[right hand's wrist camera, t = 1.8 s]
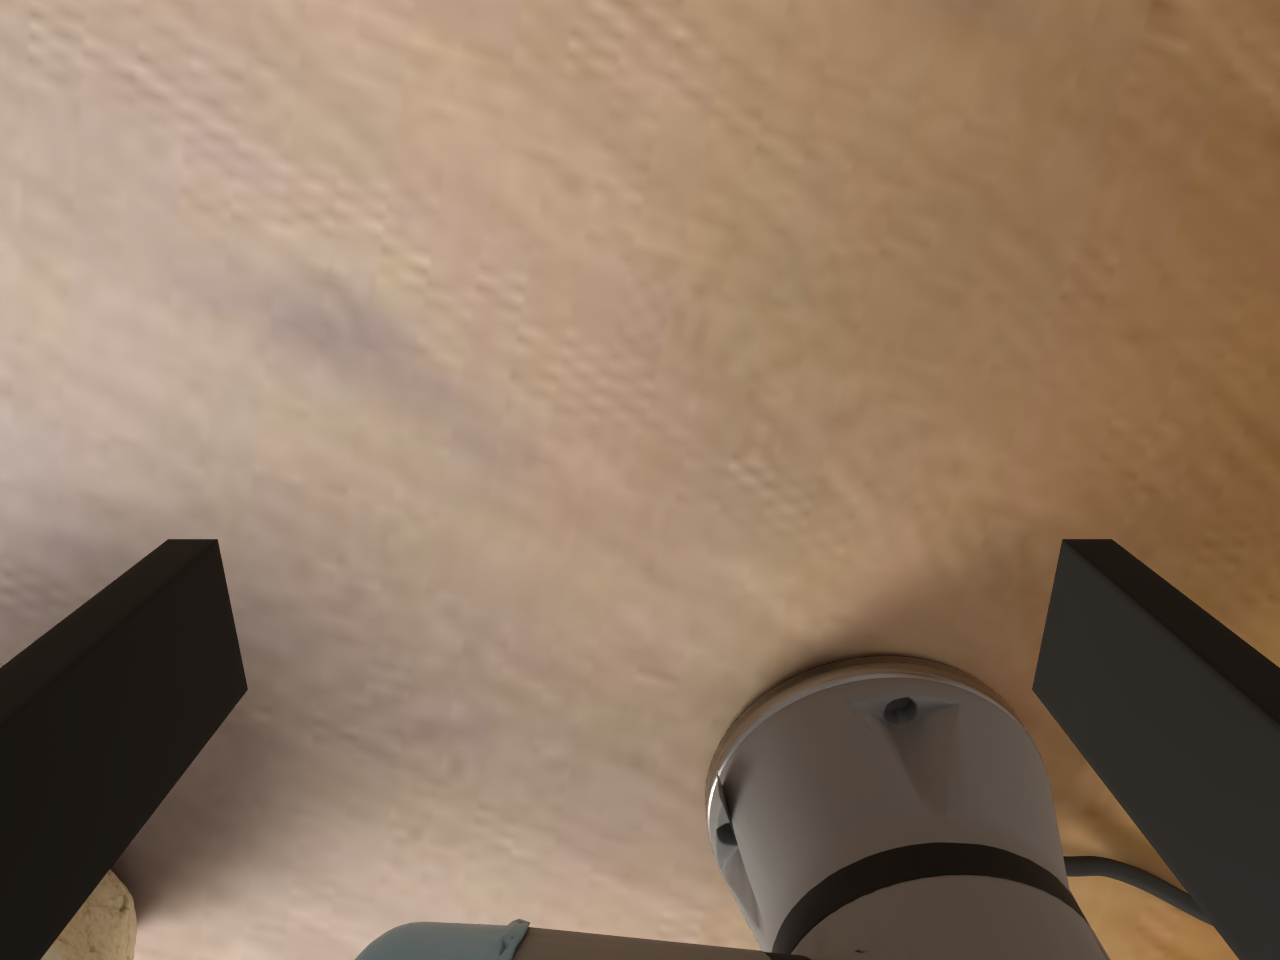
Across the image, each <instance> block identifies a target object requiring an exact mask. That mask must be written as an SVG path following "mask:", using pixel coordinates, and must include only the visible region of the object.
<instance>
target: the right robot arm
mask: <svg viewBox="0 0 1280 960" xmlns="http://www.w3.org/2000/svg"><path fill="white" fill-rule="evenodd" d="M247 690H248V688H247V683H246V678H245V673H244V668H243V663H242V658H241V653H240V648H239V643H238V638H237V633H236V629H235V624H234V619H233V614H232V609H231V604H230V599H229V594H228V589H227V584H226V579H225V574H224V569H223V564H222V559H221V554H220V549H219V544H218V539H168V540H167V541H165V542H164V543H163V544H162V545H160V546H159V547H158V548H156V549H155V550H154V551H152V552H151V553H150V554H148V555H147V556H146V557H145V558H143V559H142V560H141V561H139V562H138V563H137V564H135V565H134V566H133V567H132V568H130V569H129V570H128V571H126V572H125V573H124V574H122V575H121V576H120V577H118V578H117V579H116V580H115V581H113V582H112V583H111V584H109V585H108V586H107V587H105V588H104V589H103V590H101V591H100V592H99V593H98V594H96V595H95V596H94V597H92V598H91V599H90V600H88V601H87V602H86V603H85V604H83V605H82V606H81V607H79V608H78V609H77V610H75V611H74V612H73V613H71V614H70V615H69V616H68V617H66V618H65V619H64V620H62V621H61V622H60V623H58V624H57V625H56V626H54V627H53V628H52V629H51V630H49V631H48V632H47V633H45V634H44V635H43V636H41V637H40V638H39V639H38V640H36V641H35V642H34V643H32V644H31V645H30V646H28V647H27V648H26V649H24V650H23V651H22V652H21V653H19V654H18V655H17V656H15V657H14V658H13V659H11V660H10V661H9V662H8V663H6V664H5V665H4V666H2V667H1V668H0V960H41V958H42V957H43V956H44V955H45V953H46V952H47V951H48V949H49V948H50V947H51V945H52V944H53V943H54V941H55V940H56V939H57V938H58V936H59V935H60V934H61V932H62V931H63V930H64V928H65V927H66V926H67V925H68V923H69V922H70V921H71V919H72V918H73V917H74V915H75V914H76V913H77V911H78V910H79V909H80V908H81V906H82V905H83V904H84V902H85V901H86V900H87V898H88V897H89V896H90V895H91V893H92V892H93V891H94V889H95V888H96V887H97V885H98V884H99V883H100V881H101V880H102V879H103V878H104V876H105V875H106V874H107V872H108V871H109V870H110V868H111V867H112V866H113V865H114V863H115V862H116V861H117V859H118V858H119V857H120V855H121V854H122V853H123V852H124V850H125V849H126V848H127V846H128V845H129V844H130V842H131V841H132V840H133V838H134V837H135V836H136V835H137V833H138V832H139V831H140V829H141V828H142V827H143V825H144V824H145V823H146V822H147V820H148V819H149V818H150V816H151V815H152V814H153V812H154V811H155V810H156V808H157V807H158V806H159V805H160V803H161V802H162V801H163V799H164V798H165V797H166V795H167V794H168V793H169V792H170V790H171V789H172V788H173V786H174V785H175V784H176V782H177V781H178V780H179V778H180V777H181V776H182V775H183V773H184V772H185V771H186V769H187V768H188V767H189V765H190V764H191V763H192V762H193V760H194V759H195V758H196V756H197V755H198V754H199V752H200V751H201V750H202V748H203V747H204V746H205V745H206V743H207V742H208V741H209V739H210V738H211V737H212V735H213V734H214V733H215V732H216V730H217V729H218V728H219V726H220V725H221V724H222V722H223V721H224V720H225V718H226V717H227V716H228V715H229V713H230V712H231V711H232V709H233V708H234V707H235V705H236V704H237V703H238V702H239V700H240V699H241V698H242V696H243V695H244V694H245V692H246V691H247ZM1032 690H1033V691H1034V692H1035V694H1036V695H1037V696H1038V698H1039V699H1040V700H1041V702H1042V703H1043V704H1044V705H1045V707H1046V708H1047V709H1048V711H1049V712H1050V713H1051V715H1052V716H1053V717H1054V718H1055V720H1056V721H1057V722H1058V724H1059V725H1060V726H1061V728H1062V729H1063V730H1064V732H1065V733H1066V734H1067V735H1068V737H1069V738H1070V739H1071V741H1072V742H1073V743H1074V745H1075V746H1076V747H1077V748H1078V750H1079V751H1080V752H1081V754H1082V755H1083V756H1084V758H1085V759H1086V760H1087V762H1088V763H1089V764H1090V765H1091V767H1092V768H1093V769H1094V771H1095V772H1096V773H1097V775H1098V776H1099V777H1100V778H1101V780H1102V781H1103V782H1104V784H1105V785H1106V786H1107V788H1108V789H1109V790H1110V792H1111V793H1112V794H1113V795H1114V797H1115V798H1116V799H1117V801H1118V802H1119V803H1120V805H1121V806H1122V807H1123V808H1124V810H1125V811H1126V812H1127V814H1128V815H1129V816H1130V818H1131V819H1132V820H1133V822H1134V823H1135V824H1136V825H1137V827H1138V828H1139V829H1140V831H1141V832H1142V833H1143V835H1144V836H1145V837H1146V838H1147V840H1148V841H1149V842H1150V844H1151V845H1152V846H1153V848H1154V849H1155V850H1156V852H1157V853H1158V854H1159V855H1160V857H1161V858H1162V859H1163V861H1164V862H1165V863H1166V865H1167V866H1168V867H1169V868H1170V870H1171V871H1172V872H1173V874H1174V875H1175V876H1176V878H1177V879H1178V880H1179V881H1180V883H1181V884H1182V885H1183V887H1184V888H1185V889H1186V891H1187V892H1188V893H1189V894H1188V893H1186V892H1184V891H1182V890H1180V889H1178V888H1177V887H1175V886H1173V885H1171V884H1169V883H1167V882H1166V881H1164V880H1162V879H1160V878H1158V877H1156V876H1154V875H1152V874H1150V873H1148V872H1145V871H1143V870H1141V869H1138V868H1136V867H1134V866H1131V865H1128V864H1125V863H1122V862H1119V861H1116V860H1112V859H1108V858H1102V857H1096V856H1074V857H1067V856H1063V853H1062V847H1061V842H1060V836H1059V831H1058V825H1057V820H1056V814H1055V809H1054V803H1053V798H1052V792H1051V787H1050V782H1049V778H1048V775H1047V773H1046V770H1045V767H1044V764H1043V761H1042V758H1041V755H1040V753H1039V751H1038V749H1037V747H1036V745H1035V743H1034V741H1033V740H1032V738H1031V737H1030V735H1029V734H1028V732H1027V731H1026V729H1025V728H1024V726H1023V725H1022V723H1021V722H1020V720H1019V719H1018V717H1017V716H1016V714H1015V713H1014V711H1013V710H1012V709H1011V707H1010V706H1009V705H1008V704H1007V703H1006V702H1005V701H1004V700H1003V699H1002V698H1001V697H1000V696H999V695H998V694H997V693H996V692H995V691H993V690H992V689H991V688H990V687H988V686H987V685H985V684H984V683H982V682H981V681H980V680H978V679H976V678H974V677H972V676H970V675H969V674H967V673H965V672H962V671H960V670H958V669H955V668H953V667H950V666H947V665H944V664H941V663H938V662H933V661H929V660H924V659H919V658H912V657H904V656H869V657H860V658H852V659H847V660H842V661H837V662H833V663H830V664H826V665H823V666H819V667H816V668H814V669H811V670H808V671H806V672H803V673H801V674H799V675H797V676H795V677H792V678H790V679H788V680H786V681H785V682H783V683H781V684H779V685H778V686H776V687H774V688H773V689H771V690H770V691H768V692H767V693H766V694H764V695H763V696H761V697H760V698H759V699H757V700H756V701H755V702H754V703H753V704H752V705H750V706H749V707H748V708H747V709H746V710H745V711H744V712H743V713H742V714H741V715H740V716H739V717H738V718H737V719H736V721H735V722H734V723H733V724H732V726H731V727H730V728H729V730H728V731H727V732H726V734H725V736H724V737H723V739H722V740H721V742H720V744H719V746H718V748H717V750H716V752H715V754H714V756H713V759H712V762H711V765H710V767H709V772H708V776H707V781H706V791H705V797H706V813H707V824H708V832H709V839H710V843H711V847H712V850H713V853H714V856H715V859H716V862H717V864H718V867H719V870H720V872H721V874H722V876H723V878H724V880H725V882H726V884H727V886H728V888H729V889H730V891H731V893H732V895H733V897H734V899H735V901H736V903H737V905H738V907H739V909H740V911H741V912H742V914H743V916H744V918H745V920H746V922H747V924H748V926H749V928H750V930H751V932H752V933H753V935H754V937H755V939H756V941H757V943H758V945H759V947H760V949H761V951H757V950H747V949H737V948H727V947H718V946H708V945H698V944H688V943H679V942H669V941H659V940H649V939H640V938H630V937H620V936H610V935H601V934H591V933H581V932H571V931H561V930H552V929H542V928H532V927H528V926H529V924H530V922H527V921H524V920H521V919H518V920H515V921H512V922H511V923H510V924H509V925H507V926H505V925H483V924H461V923H439V922H416V923H409V924H405V925H401V926H398V927H395V928H393V929H391V930H389V931H388V932H386V933H384V934H383V935H381V936H380V937H378V938H377V939H376V940H374V941H373V942H372V943H370V944H369V945H368V946H367V947H366V948H365V949H364V950H363V951H362V952H361V953H360V954H359V955H358V956H357V957H356V959H355V960H1110V958H1109V956H1108V955H1107V953H1106V951H1105V950H1104V948H1103V946H1102V945H1101V943H1100V941H1099V940H1098V938H1097V936H1096V935H1095V933H1094V931H1093V930H1092V929H1091V927H1090V925H1089V923H1088V922H1087V920H1086V918H1085V916H1084V915H1083V913H1082V911H1081V909H1080V908H1079V906H1078V904H1077V902H1076V900H1075V899H1074V897H1073V895H1072V893H1071V891H1070V890H1069V886H1068V880H1067V876H1106V877H1109V878H1113V879H1116V880H1119V881H1122V882H1125V883H1128V884H1130V885H1133V886H1135V887H1138V888H1140V889H1142V890H1144V891H1146V892H1148V893H1150V894H1152V895H1154V896H1156V897H1158V898H1160V899H1162V900H1164V901H1166V902H1168V903H1169V904H1171V905H1173V906H1175V907H1177V908H1179V909H1180V910H1182V911H1184V912H1186V913H1188V914H1190V915H1192V916H1194V917H1196V918H1198V919H1200V920H1202V921H1204V922H1206V923H1208V924H1210V925H1212V926H1214V927H1215V928H1216V930H1217V931H1218V932H1219V934H1220V935H1221V936H1222V938H1223V939H1224V940H1225V941H1226V943H1227V944H1228V945H1229V947H1230V948H1231V949H1232V951H1233V952H1234V953H1235V955H1236V956H1237V957H1238V958H1239V960H1280V668H1279V667H1278V666H1276V665H1275V664H1274V663H1272V662H1271V661H1270V660H1269V659H1267V658H1266V657H1265V656H1263V655H1262V654H1261V653H1259V652H1258V651H1257V650H1256V649H1254V648H1253V647H1252V646H1250V645H1249V644H1248V643H1246V642H1245V641H1244V640H1242V639H1241V638H1240V637H1239V636H1237V635H1236V634H1235V633H1233V632H1232V631H1231V630H1229V629H1228V628H1227V627H1226V626H1224V625H1223V624H1222V623H1220V622H1219V621H1218V620H1216V619H1215V618H1214V617H1212V616H1211V615H1210V614H1209V613H1207V612H1206V611H1205V610H1203V609H1202V608H1201V607H1199V606H1198V605H1197V604H1195V603H1194V602H1193V601H1192V600H1190V599H1189V598H1188V597H1186V596H1185V595H1184V594H1182V593H1181V592H1180V591H1179V590H1177V589H1176V588H1175V587H1173V586H1172V585H1171V584H1169V583H1168V582H1167V581H1165V580H1164V579H1163V578H1162V577H1160V576H1159V575H1158V574H1156V573H1155V572H1154V571H1152V570H1151V569H1150V568H1149V567H1147V566H1146V565H1145V564H1143V563H1142V562H1141V561H1139V560H1138V559H1137V558H1135V557H1134V556H1133V555H1132V554H1130V553H1129V552H1128V551H1126V550H1125V549H1124V548H1122V547H1121V546H1120V545H1118V544H1117V543H1116V542H1115V541H1113V540H1112V539H1062V544H1061V549H1060V554H1059V559H1058V564H1057V569H1056V574H1055V579H1054V584H1053V589H1052V594H1051V599H1050V604H1049V609H1048V614H1047V619H1046V624H1045V629H1044V633H1043V638H1042V643H1041V648H1040V653H1039V658H1038V663H1037V668H1036V673H1035V678H1034V683H1033V688H1032Z"/></svg>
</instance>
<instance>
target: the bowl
mask: <svg viewBox="0 0 1280 960" xmlns="http://www.w3.org/2000/svg"><path fill="white" fill-rule="evenodd" d="M136 933H137V920H136V912H135V908H134V901H133V898H132V896H131V894H130V892H129V891H128V889H127V888H126V887H125V885H124V884H123V883H122V882H121V881H120V880H119V879H118V877H117V876H116V875H115V874H114V873H113V872H112V871H111V870H109V871H108V872H107V874H106V875H105V876H104V878H103V879H102V880H101V881H100V883H99V884H98V885H97V887H96V888H95V889H94V891H93V892H92V893H91V895H90V896H89V897H88V898H87V900H86V901H85V902H84V904H83V905H82V906H81V908H80V909H79V910H78V911H77V913H76V914H75V915H74V917H73V918H72V919H71V921H70V922H69V923H68V925H67V926H66V927H65V928H64V930H63V931H62V932H61V934H60V935H59V936H58V938H57V939H56V940H55V941H54V943H53V944H52V945H51V947H50V948H49V949H48V951H47V952H46V953H45V955H44V956H43V957H42V958H41V960H133V959H134V950H135V949H134V948H135V942H136Z"/></svg>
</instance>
